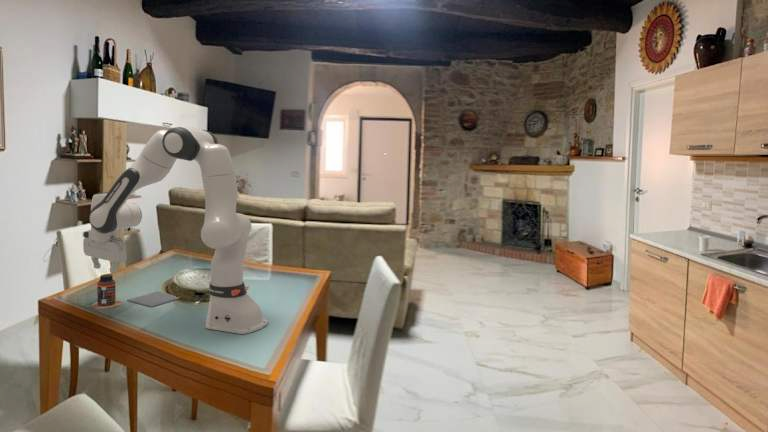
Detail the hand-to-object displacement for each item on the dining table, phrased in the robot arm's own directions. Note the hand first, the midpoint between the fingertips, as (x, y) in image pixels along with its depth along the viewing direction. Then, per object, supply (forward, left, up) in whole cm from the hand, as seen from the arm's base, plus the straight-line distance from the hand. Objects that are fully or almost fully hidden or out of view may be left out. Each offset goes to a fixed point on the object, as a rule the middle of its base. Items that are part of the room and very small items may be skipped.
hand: (105, 270), depth 173 cm
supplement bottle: (0, 0, -14) cm, 14 cm away
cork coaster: (0, 0, -14) cm, 14 cm away
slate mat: (-9, -14, -14) cm, 22 cm away
